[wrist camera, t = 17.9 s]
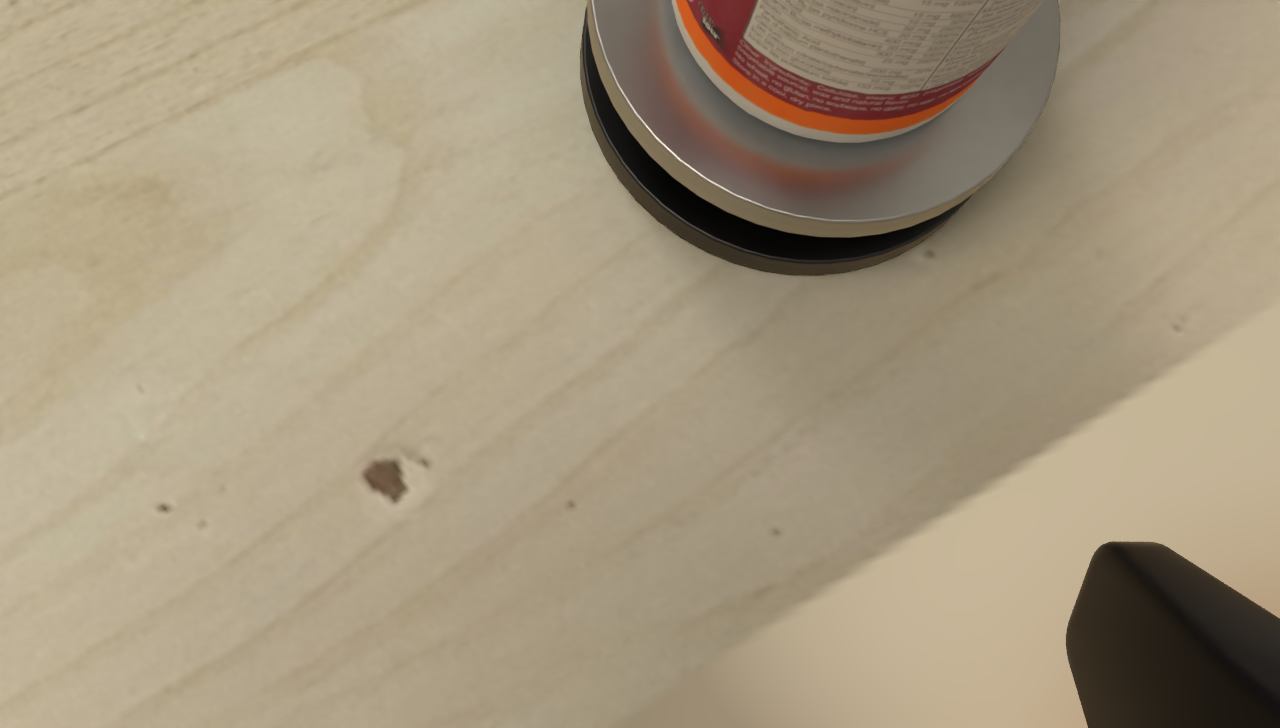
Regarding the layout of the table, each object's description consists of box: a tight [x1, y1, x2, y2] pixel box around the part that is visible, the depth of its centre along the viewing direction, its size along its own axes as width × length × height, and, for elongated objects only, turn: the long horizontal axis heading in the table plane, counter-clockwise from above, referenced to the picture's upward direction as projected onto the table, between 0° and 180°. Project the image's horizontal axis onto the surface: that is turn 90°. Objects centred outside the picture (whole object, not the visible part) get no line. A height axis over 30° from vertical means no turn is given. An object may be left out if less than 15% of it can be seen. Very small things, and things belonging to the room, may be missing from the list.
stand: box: [580, 0, 1060, 275], centre depth 23 cm, size 9×9×3 cm
